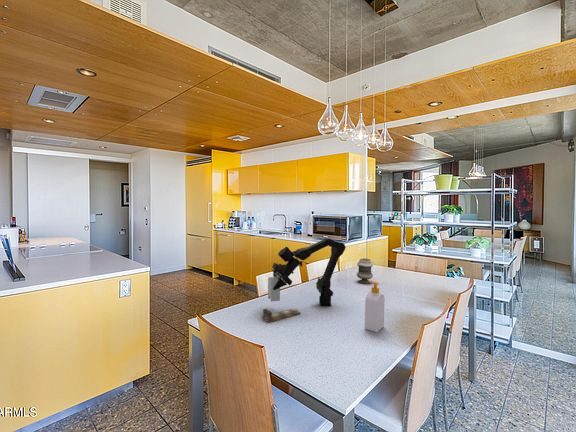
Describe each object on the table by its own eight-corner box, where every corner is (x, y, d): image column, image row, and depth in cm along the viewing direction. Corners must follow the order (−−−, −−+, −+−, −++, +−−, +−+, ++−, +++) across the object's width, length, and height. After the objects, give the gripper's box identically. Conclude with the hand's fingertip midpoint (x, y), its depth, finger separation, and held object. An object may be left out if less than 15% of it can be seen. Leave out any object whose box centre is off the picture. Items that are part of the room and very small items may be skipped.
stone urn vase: (356, 283, 219) (356, 260, 218) (357, 279, 230) (357, 257, 230) (372, 285, 215) (373, 261, 215) (372, 281, 227) (373, 258, 226)
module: (276, 297, 165) (276, 276, 164) (279, 300, 159) (280, 279, 159) (268, 298, 163) (268, 277, 162) (271, 301, 157) (271, 280, 157)
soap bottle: (370, 322, 148) (371, 278, 147) (383, 326, 143) (385, 281, 142) (362, 328, 141) (364, 282, 140) (376, 332, 136) (378, 285, 135)
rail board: (292, 310, 164) (293, 301, 163) (300, 314, 158) (300, 305, 158) (262, 318, 152) (262, 308, 152) (269, 322, 146) (269, 313, 146)
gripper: (275, 254, 170) (257, 274, 167) (286, 261, 153) (266, 283, 149) (287, 266, 173) (270, 286, 170) (300, 274, 156) (280, 296, 152)
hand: (271, 288), depth 160 cm, fingers closed on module, 6 cm apart
